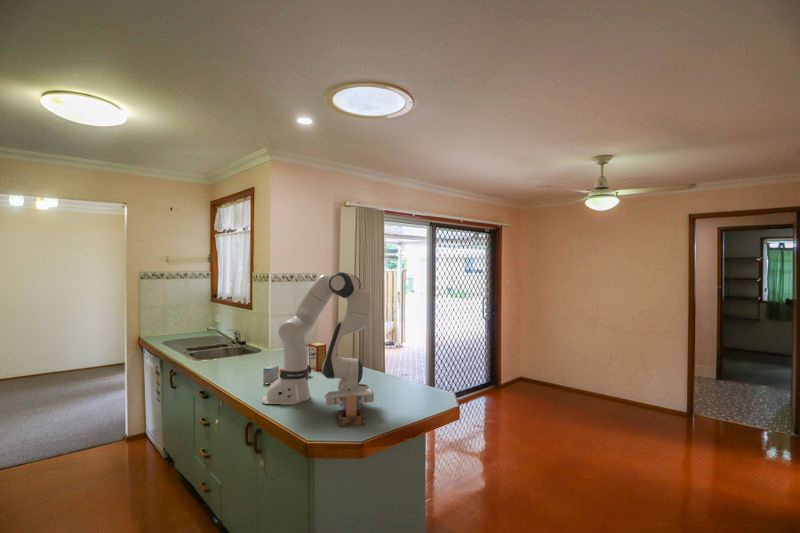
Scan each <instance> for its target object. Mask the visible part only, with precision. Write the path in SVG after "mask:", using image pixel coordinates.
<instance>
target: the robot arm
mask: <svg viewBox="0 0 800 533" xmlns="http://www.w3.org/2000/svg"><path fill="white" fill-rule="evenodd" d="M361 284H362V283H361V280H360V279H359V277H357V276H356V275H354V274H352V273H349V272H342V271H340V272H336V273H333V274H332V275H331V276H330V275H328V274H321V275H320V276H319V277H318V278H317V279H316V280H314V282H313V283H311V286H310V287H309V289H308V290H307V291H306V292H305V294H304V295H303V297H302V299H301V300H300V301H299V305H298V306H297V309H296V311H295V313H294V315H293V316H292V317H291V318H289V319H286V320H284V322H282V323H281V325H280V326H279V328H278V337H279V338H280V341H281V344H282V345H281V346H282V351H283V368H279V375H278V376H279V377H278V379H277V380H276V381H275V382H273V383H272V384H271V385H269V386H268V389H267V391H266V394H265V395H263V397H262V399H261V403H262V402H263V403H267V404H281V405H298V404H300V403H303V402H306V401H308V400H310V399H311V398H312V395H311V392H310V385H309V375H310V374H309V370H308V365H309V352H308V350H307V348H306V347H307V346H306V341H305V337H307V336H308V335H309V333H310V332H311V330H312V329H313V327H314V325H315V324H316V322H317V320H318V318H319V316H320V314H321V313H322V312H323V310H324V309H325V307H326V306H327V304H328V303H329V301H330V300H331V298H332V297H333V295H337V296H339V297H341V298H343V299H346V301H347V302H346V303H347V304H346V305H347V306H346V313H345V315H344V317H343V319H342V320H341V321H339V322H338V323H337V324H336V327H335V329H334V332H333V334H332V337H331V341H330V344H329V346H328V350H327V351H326V358H325V360H324V362H323V364H322V371H321V373H322V375H323V376H324V377H325V378H326V379H327V380H328V379H339V380H338V383H337V390H334V391H328V392H327V393H326V394H325V395H324V398H325V405H327V406H333V405H338V406H339V407H343V406H344V405H346V395H356V404H358V405H359V406H360V405H364V403H365V404H366V403H373V402H375V400H374V399H375V393H374V392H373V389H372V388H371V387H369V385H368V384H363V383H361V381H362V379H363V373H364V372H363V371H364V370H363V363H362V361H361V360H360V359H359V358H355V357H342V356H337V353H338V349H339V347H340V342H341V340H342V339H343V338H344V337H346V336H347V335H352V334H355V333H358V332H361V331H363V330H364V329H366V327H367V326H368V324H369V320H370V316H371V315H370V312H371V294H370V293H369V291H367V290H365V289H361V287H362V285H361ZM263 403H262V404H263Z"/></svg>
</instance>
